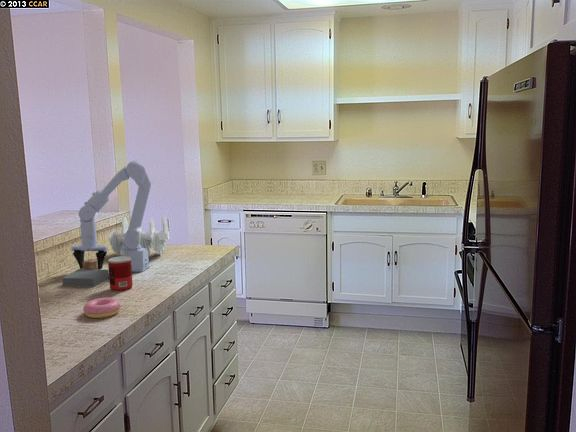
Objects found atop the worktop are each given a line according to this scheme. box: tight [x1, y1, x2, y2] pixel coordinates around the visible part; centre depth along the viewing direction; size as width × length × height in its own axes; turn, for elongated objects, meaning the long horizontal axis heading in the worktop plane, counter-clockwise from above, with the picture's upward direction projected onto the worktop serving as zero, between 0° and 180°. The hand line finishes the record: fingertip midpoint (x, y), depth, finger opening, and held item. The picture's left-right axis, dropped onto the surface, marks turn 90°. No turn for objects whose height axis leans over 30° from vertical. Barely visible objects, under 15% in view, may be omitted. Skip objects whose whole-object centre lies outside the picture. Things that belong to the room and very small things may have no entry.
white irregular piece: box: [108, 216, 170, 256], centre depth 234 cm, size 18×18×25 cm
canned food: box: [107, 255, 134, 292], centre depth 185 cm, size 8×8×11 cm
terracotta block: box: [83, 258, 99, 270], centre depth 207 cm, size 4×4×5 cm
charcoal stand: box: [61, 268, 109, 288], centre depth 195 cm, size 12×12×3 cm
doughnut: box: [83, 297, 121, 319], centre depth 161 cm, size 11×11×4 cm
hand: (91, 268), depth 207 cm, fingers open, 7 cm apart
